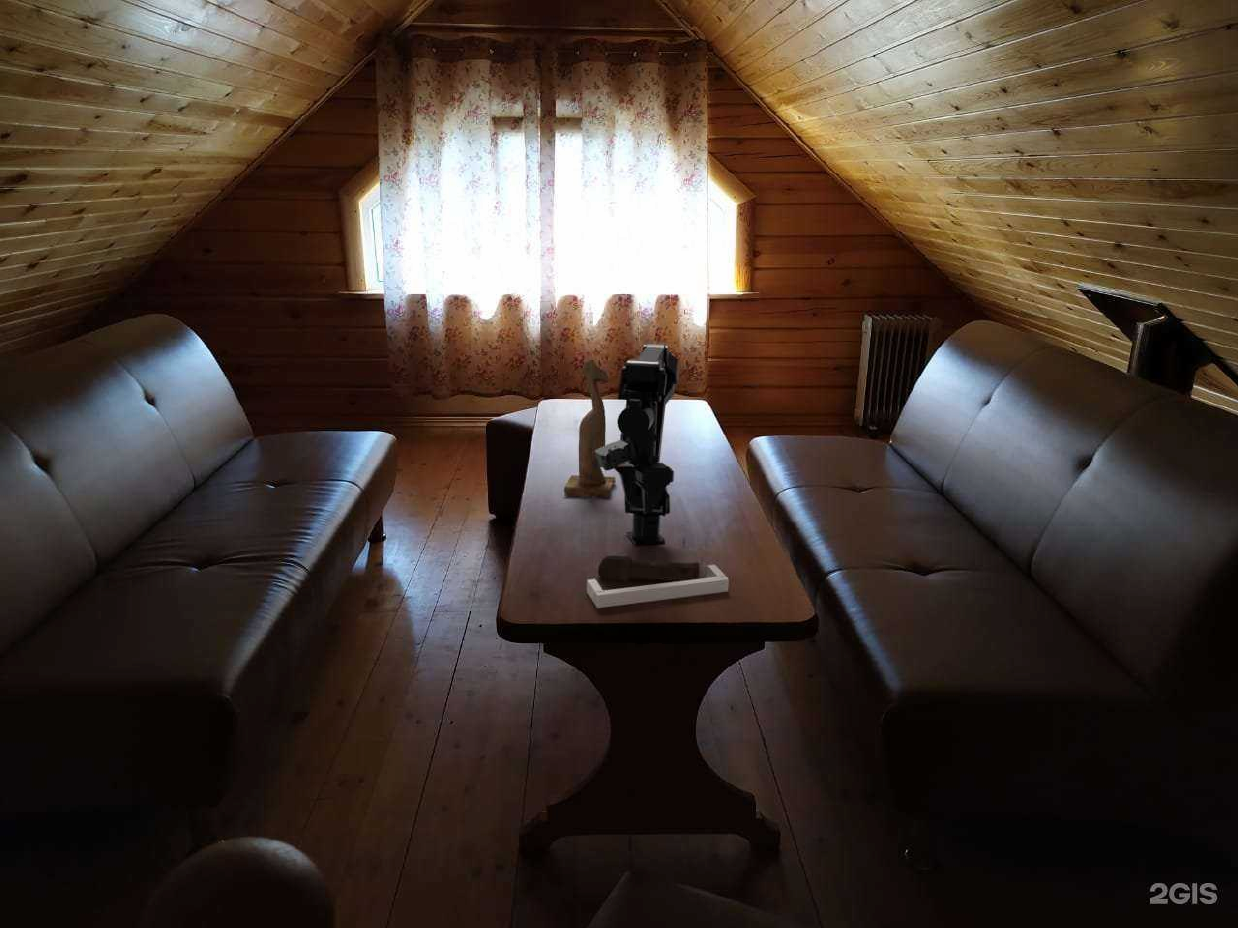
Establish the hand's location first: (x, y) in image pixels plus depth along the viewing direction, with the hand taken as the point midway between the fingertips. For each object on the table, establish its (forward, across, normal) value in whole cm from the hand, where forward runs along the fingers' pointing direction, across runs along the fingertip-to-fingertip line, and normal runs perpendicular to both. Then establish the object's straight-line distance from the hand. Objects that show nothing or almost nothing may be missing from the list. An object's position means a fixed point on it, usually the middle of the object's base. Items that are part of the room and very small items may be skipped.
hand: (637, 508), depth 168 cm
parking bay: (+13, +11, 0) cm, 17 cm away
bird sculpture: (+9, -44, +6) cm, 45 cm away
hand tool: (+13, +6, 0) cm, 14 cm away
